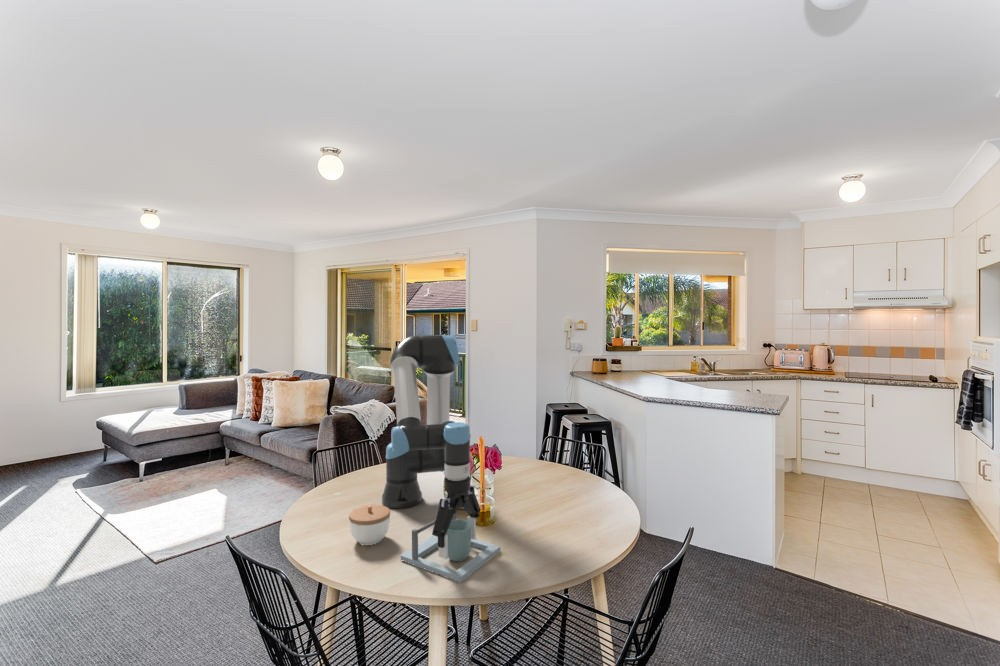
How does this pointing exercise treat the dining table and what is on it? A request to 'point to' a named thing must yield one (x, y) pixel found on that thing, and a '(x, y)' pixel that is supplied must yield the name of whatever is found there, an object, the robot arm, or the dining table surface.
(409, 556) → the towel rail frame
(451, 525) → the cup
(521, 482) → the dining table surface
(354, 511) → the lidded bowl
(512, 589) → the dining table surface
